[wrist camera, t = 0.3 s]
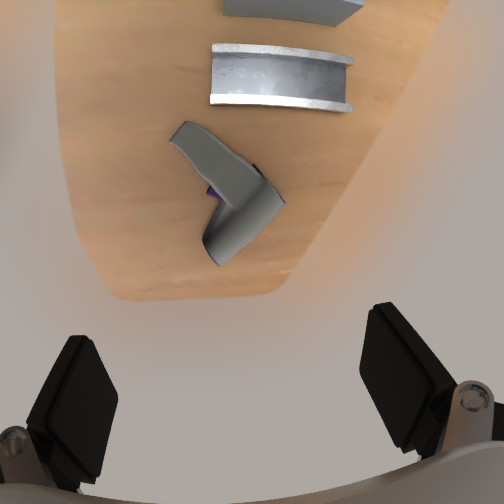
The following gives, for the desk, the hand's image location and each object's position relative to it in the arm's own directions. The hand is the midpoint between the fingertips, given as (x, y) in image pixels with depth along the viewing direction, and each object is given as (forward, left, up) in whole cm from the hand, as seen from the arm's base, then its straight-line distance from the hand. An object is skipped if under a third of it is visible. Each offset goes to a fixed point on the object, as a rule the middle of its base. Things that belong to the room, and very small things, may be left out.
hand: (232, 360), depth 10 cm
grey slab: (-23, +7, -30) cm, 39 cm away
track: (-13, +7, -30) cm, 34 cm away
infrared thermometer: (+1, -2, -31) cm, 31 cm away
